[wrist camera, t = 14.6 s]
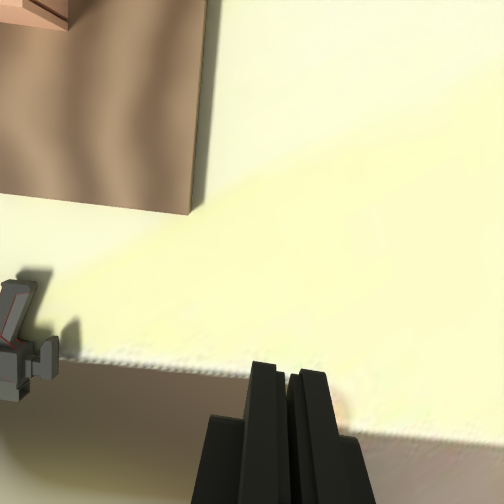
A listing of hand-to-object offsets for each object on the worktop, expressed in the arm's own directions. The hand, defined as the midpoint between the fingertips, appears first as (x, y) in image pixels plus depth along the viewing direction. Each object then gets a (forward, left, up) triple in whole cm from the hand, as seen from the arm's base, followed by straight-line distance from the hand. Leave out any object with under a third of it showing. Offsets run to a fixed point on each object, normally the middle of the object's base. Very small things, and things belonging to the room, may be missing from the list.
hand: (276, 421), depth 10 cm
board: (+15, -9, -29) cm, 34 cm away
